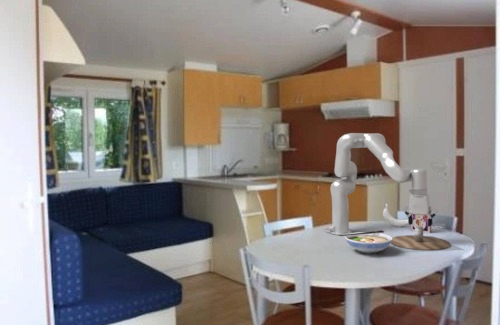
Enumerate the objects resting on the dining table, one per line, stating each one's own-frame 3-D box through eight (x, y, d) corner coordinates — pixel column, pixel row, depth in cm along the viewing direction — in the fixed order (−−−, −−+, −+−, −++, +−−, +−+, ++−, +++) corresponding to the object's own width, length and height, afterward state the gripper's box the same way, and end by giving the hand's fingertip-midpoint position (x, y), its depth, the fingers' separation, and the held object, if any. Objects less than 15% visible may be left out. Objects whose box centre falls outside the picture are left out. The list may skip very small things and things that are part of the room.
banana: (410, 229, 262) (410, 205, 261) (381, 225, 275) (381, 202, 275) (413, 227, 266) (413, 204, 265) (384, 224, 279) (384, 201, 278)
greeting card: (410, 231, 256) (410, 206, 255) (416, 229, 261) (416, 204, 260) (429, 234, 248) (429, 208, 247) (434, 232, 253) (435, 206, 252)
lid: (404, 251, 209) (404, 234, 209) (381, 238, 238) (381, 223, 238) (461, 249, 212) (461, 232, 211) (431, 236, 241) (431, 221, 240)
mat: (403, 253, 208) (403, 252, 208) (378, 238, 239) (378, 237, 239) (464, 250, 211) (464, 249, 211) (432, 236, 242) (432, 235, 242)
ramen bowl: (357, 260, 198) (357, 242, 198) (334, 248, 220) (334, 232, 220) (404, 255, 205) (404, 238, 204) (378, 244, 227) (378, 229, 226)
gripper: (400, 192, 226) (401, 224, 227) (434, 194, 215) (435, 228, 216) (405, 191, 232) (406, 222, 233) (439, 192, 221) (439, 225, 221)
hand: (420, 225), depth 224 cm, fingers open, 9 cm apart
